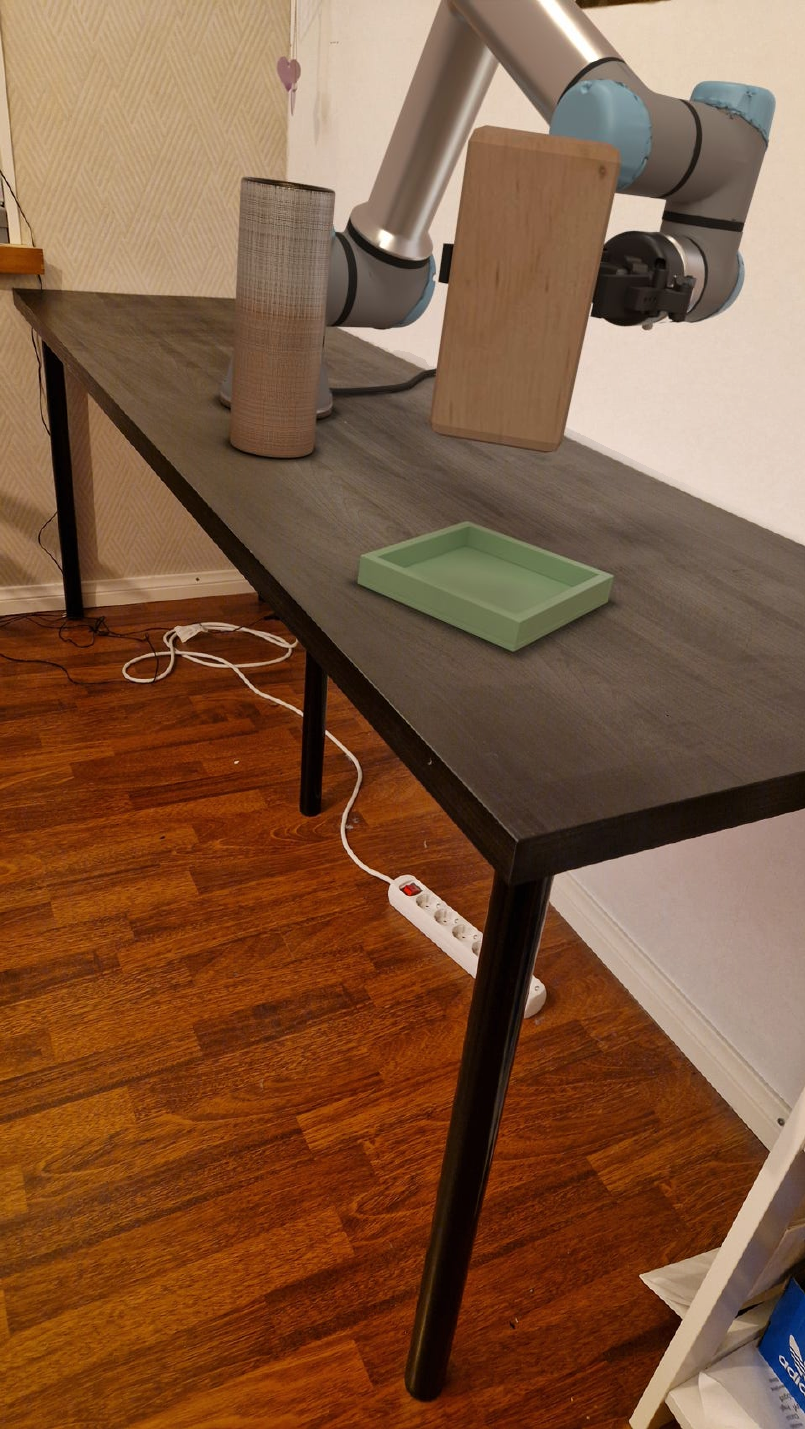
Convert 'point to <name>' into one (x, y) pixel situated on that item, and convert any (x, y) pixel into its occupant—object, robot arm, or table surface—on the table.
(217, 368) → the table surface
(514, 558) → the green serving tray
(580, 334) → the wooden block
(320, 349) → the vase
